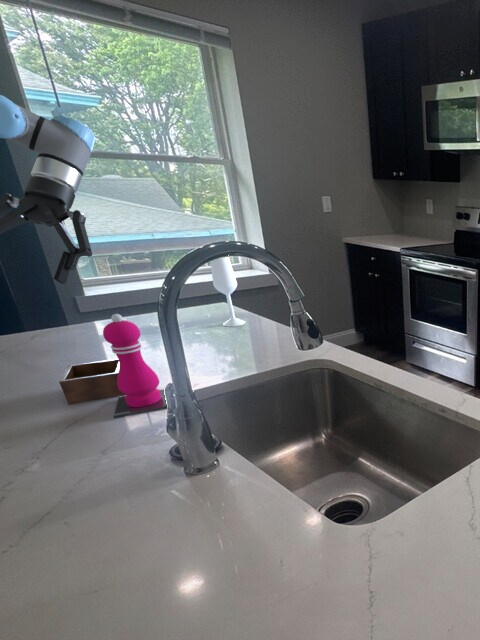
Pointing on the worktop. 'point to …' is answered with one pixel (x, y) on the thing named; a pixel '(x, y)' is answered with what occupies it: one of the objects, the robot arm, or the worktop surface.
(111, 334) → the pepper mill
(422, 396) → the worktop surface
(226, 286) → the champagne flute
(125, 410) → the slate coaster
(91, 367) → the mill caddy
